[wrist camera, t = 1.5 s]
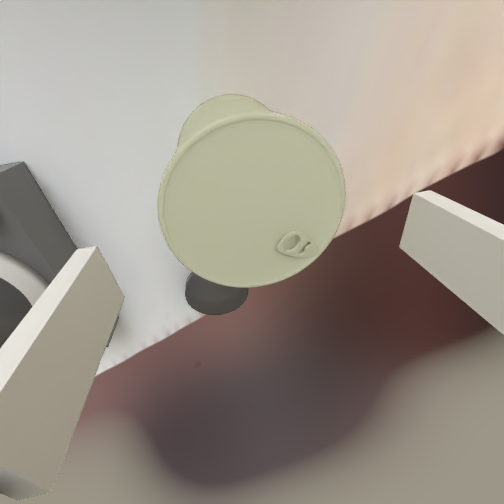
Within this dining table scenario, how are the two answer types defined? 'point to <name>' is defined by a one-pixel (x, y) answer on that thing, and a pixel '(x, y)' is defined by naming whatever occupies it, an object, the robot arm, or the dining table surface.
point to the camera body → (27, 246)
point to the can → (249, 194)
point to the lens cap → (213, 296)
